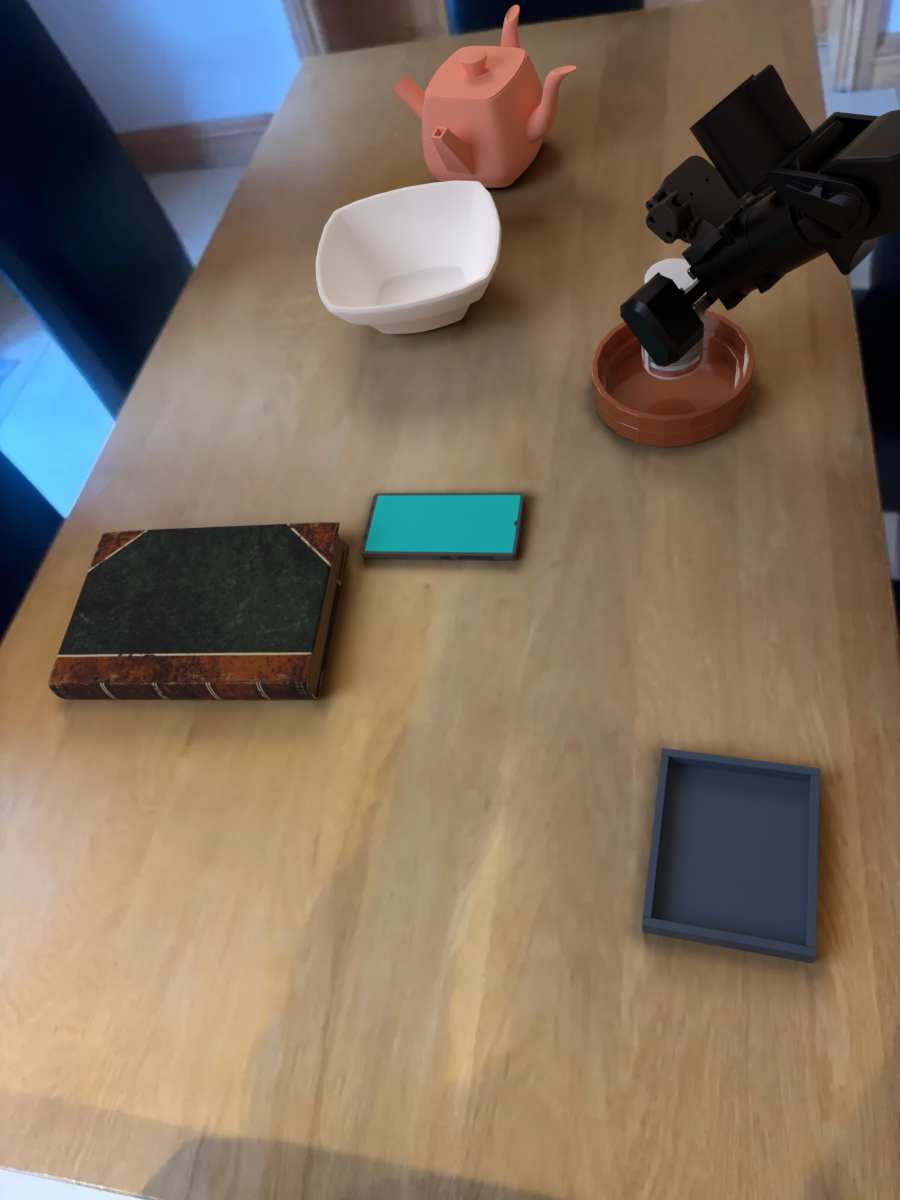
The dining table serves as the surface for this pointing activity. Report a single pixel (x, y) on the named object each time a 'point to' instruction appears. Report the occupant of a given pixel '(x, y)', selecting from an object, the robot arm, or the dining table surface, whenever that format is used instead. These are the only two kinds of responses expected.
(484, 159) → the teapot
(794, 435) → the dining table surface
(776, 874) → the tray
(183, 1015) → the dining table surface
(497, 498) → the smartphone
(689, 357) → the pill bottle
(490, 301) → the dining table surface
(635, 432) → the terracotta bowl
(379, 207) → the bowl
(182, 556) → the book
